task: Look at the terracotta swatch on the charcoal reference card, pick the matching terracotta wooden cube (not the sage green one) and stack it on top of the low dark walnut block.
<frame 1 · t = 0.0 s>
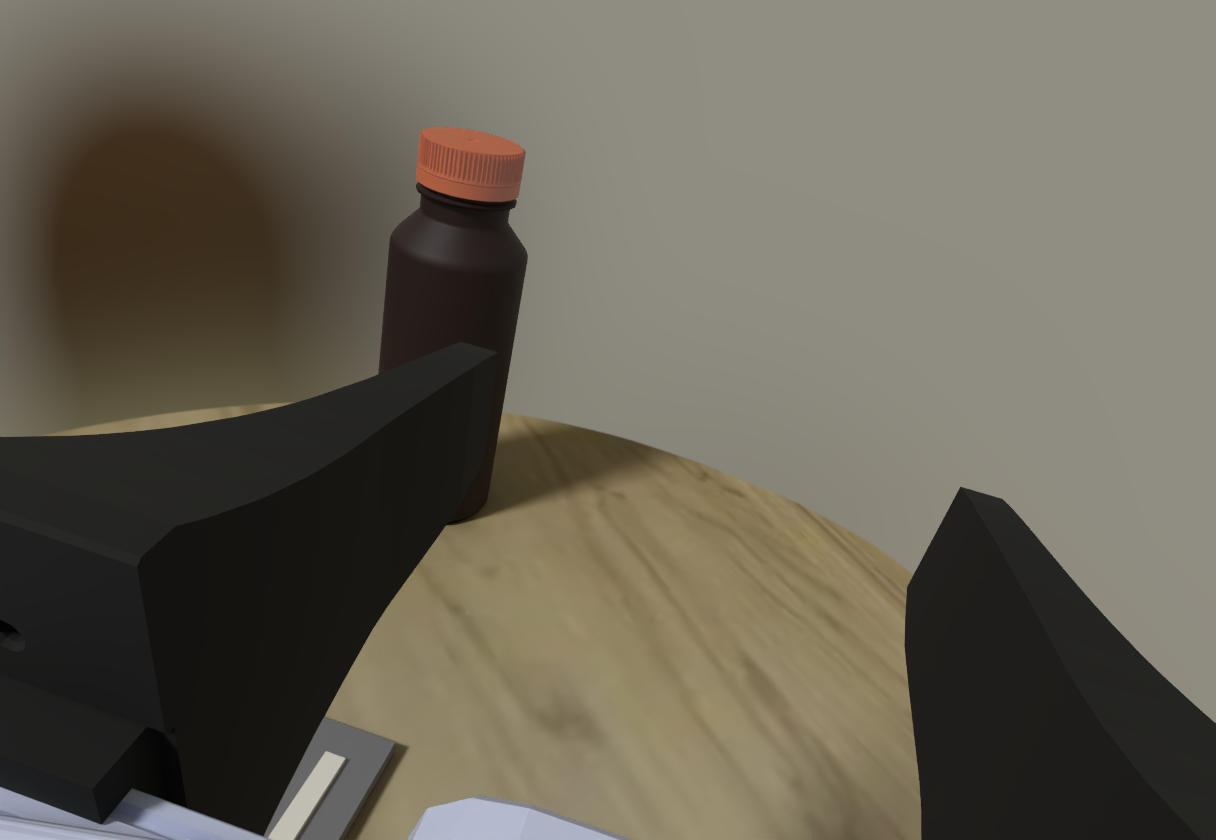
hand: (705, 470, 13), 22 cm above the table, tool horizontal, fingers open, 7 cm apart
bottle: (429, 494, 48), on the table
reference card: (213, 794, 29), on the table
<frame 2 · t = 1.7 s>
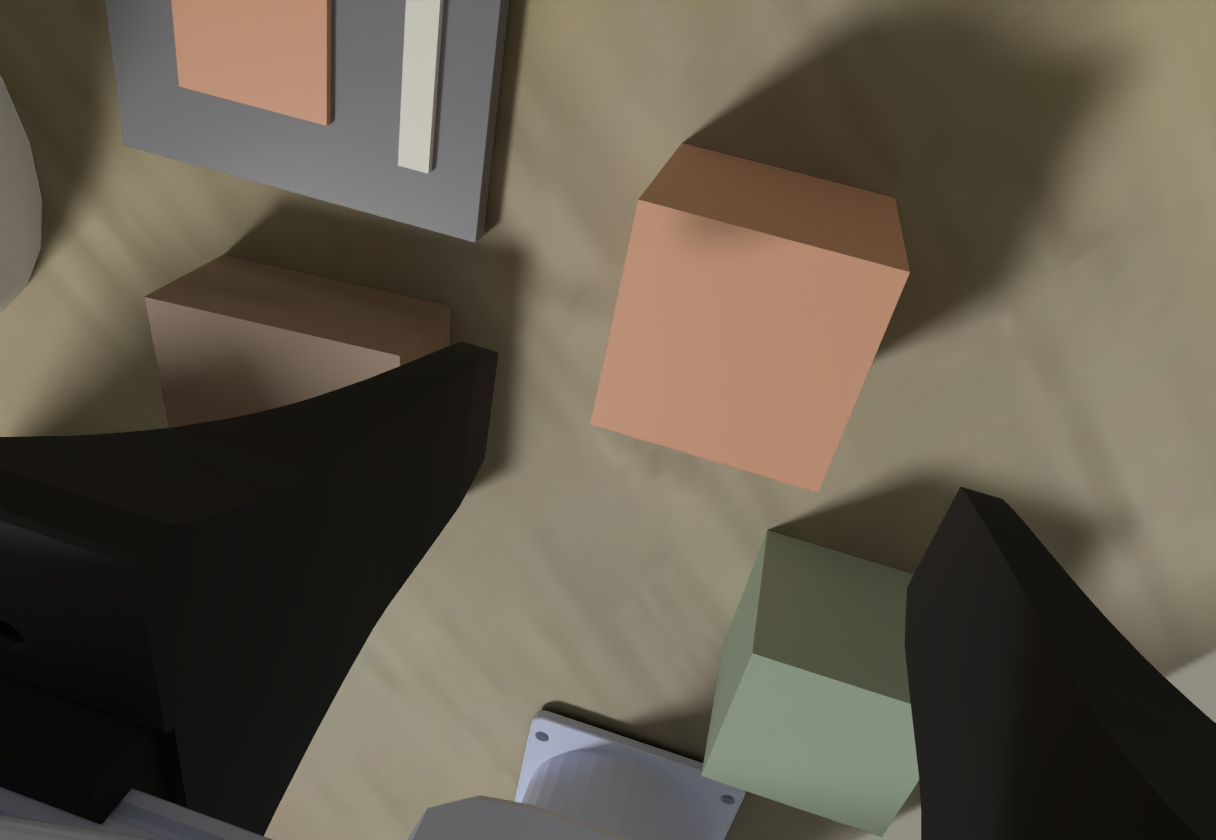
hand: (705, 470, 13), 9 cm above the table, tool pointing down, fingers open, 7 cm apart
walnut base: (345, 382, 25), on the table
sage block: (823, 614, 25), on the table
terracotta block: (756, 269, 20), on the table
reference card: (305, 24, 20), on the table
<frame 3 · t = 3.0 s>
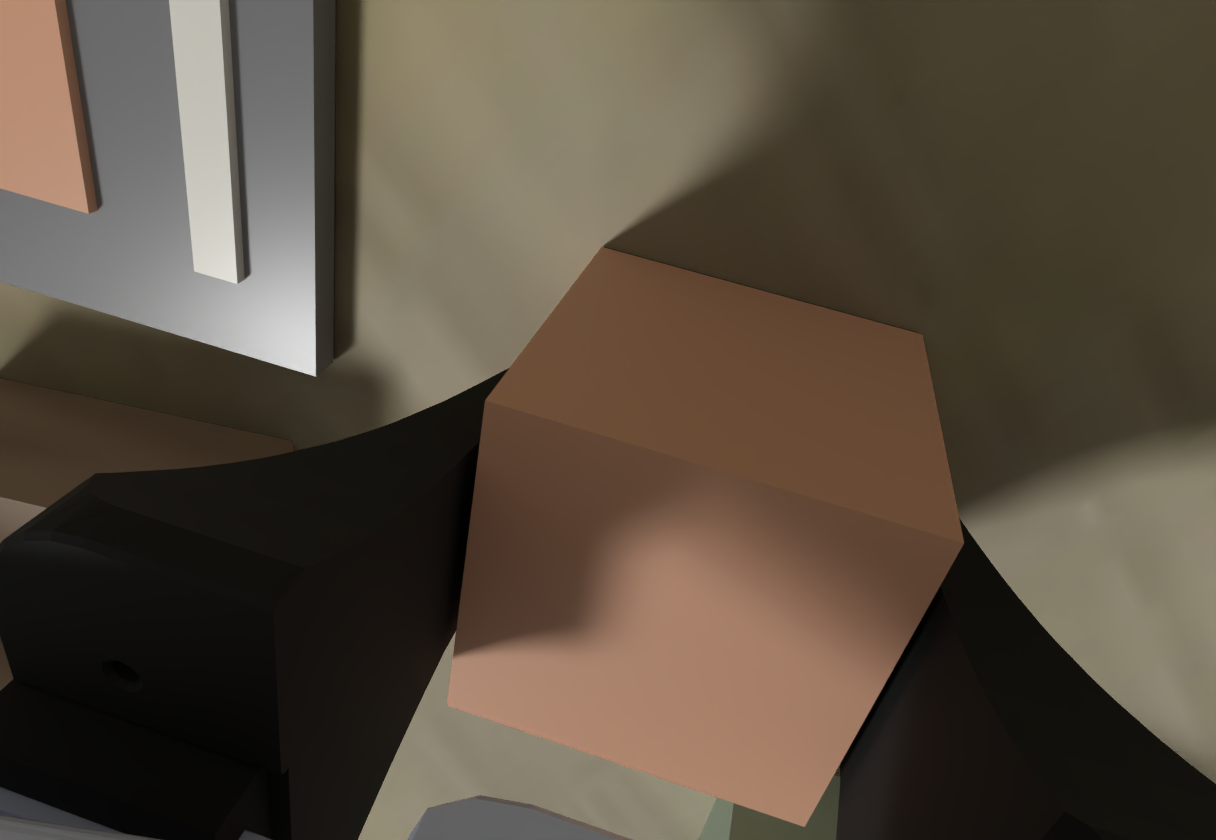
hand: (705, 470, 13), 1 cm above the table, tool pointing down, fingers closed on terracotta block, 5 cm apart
walnut base: (179, 531, 19), on the table
terracotta block: (716, 424, 14), on the table, touching gripper
reference card: (52, 66, 13), on the table
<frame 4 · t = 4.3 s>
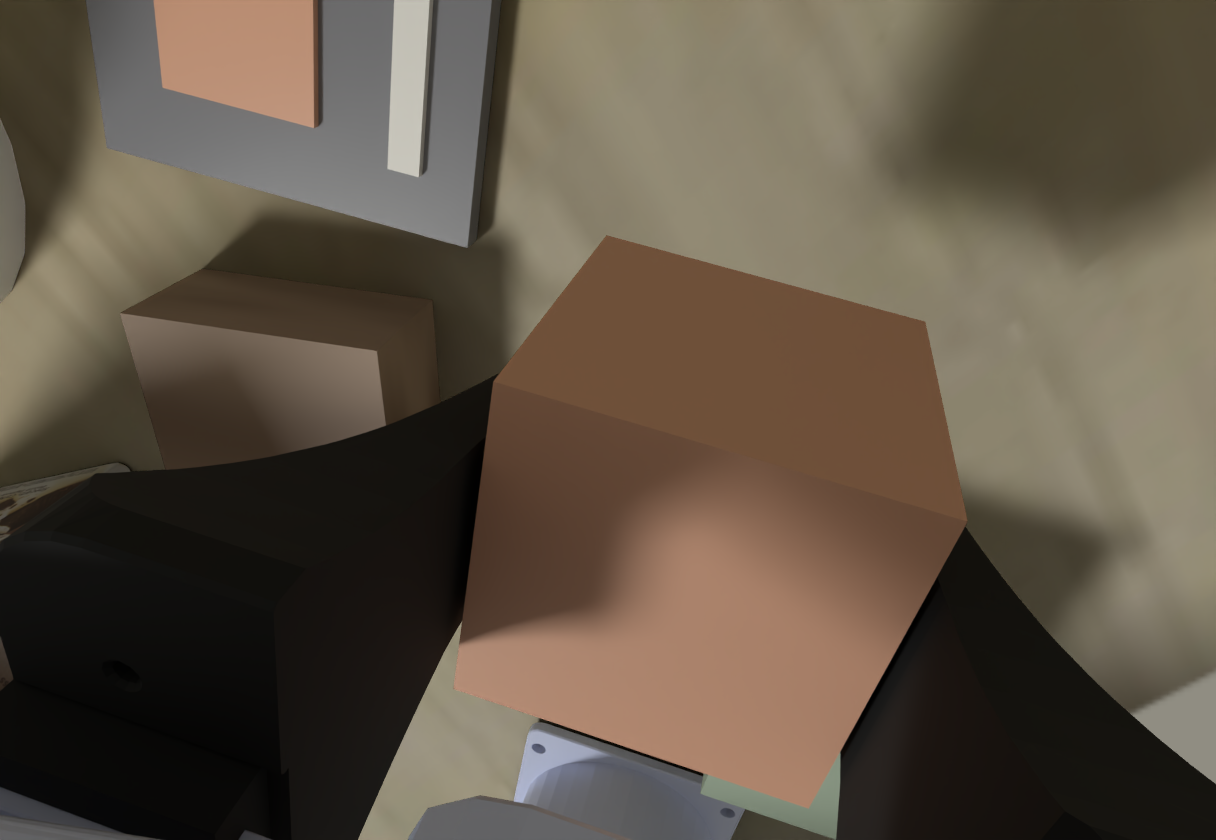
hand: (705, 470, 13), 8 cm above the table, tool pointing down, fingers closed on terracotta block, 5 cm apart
walnut base: (336, 389, 25), on the table
coffee box: (90, 540, 31), on the table
sage block: (825, 626, 25), on the table
terracotta block: (720, 413, 14), point 7 cm above the table, touching gripper
reference card: (292, 24, 19), on the table
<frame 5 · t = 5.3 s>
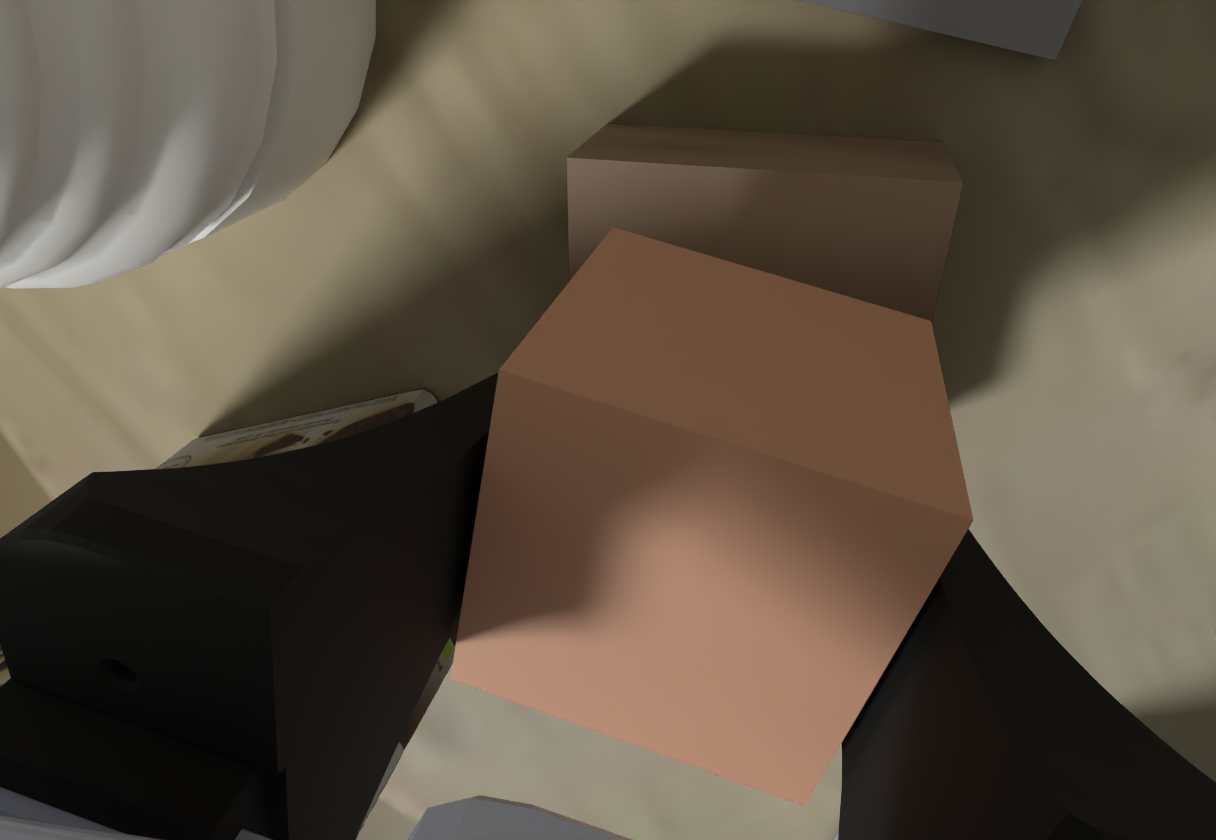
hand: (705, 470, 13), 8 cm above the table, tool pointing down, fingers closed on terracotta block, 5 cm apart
walnut base: (753, 284, 19), on the table
coffee box: (352, 492, 26), on the table
terracotta block: (722, 408, 14), point 6 cm above the table, touching gripper
when the fingers open (6 cm above the table, at t = 6.1 s): terracotta block drops 1 cm, resting on walnut base.
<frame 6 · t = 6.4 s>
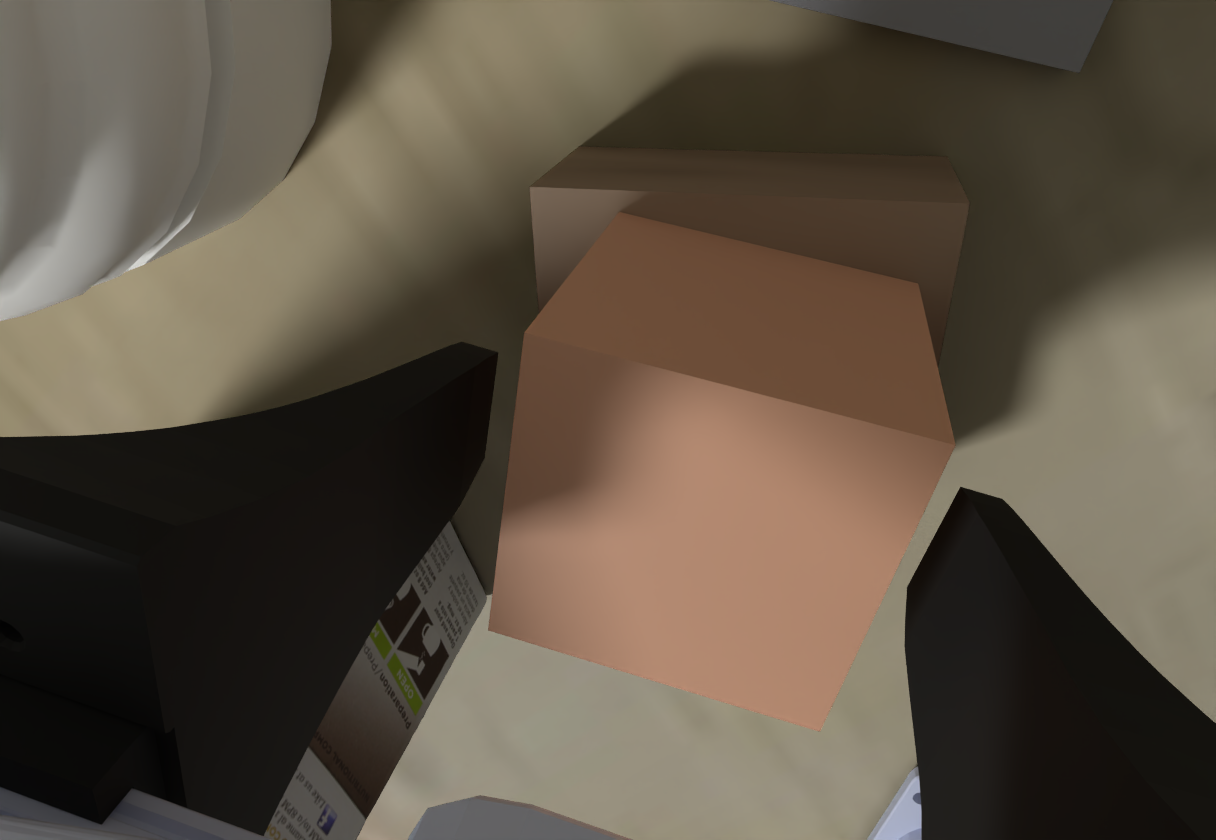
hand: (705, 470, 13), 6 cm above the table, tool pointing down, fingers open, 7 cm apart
walnut base: (745, 313, 18), on the table, touching terracotta block
coffee box: (320, 526, 24), on the table
terracotta block: (729, 377, 15), point 3 cm above the table, touching walnut base
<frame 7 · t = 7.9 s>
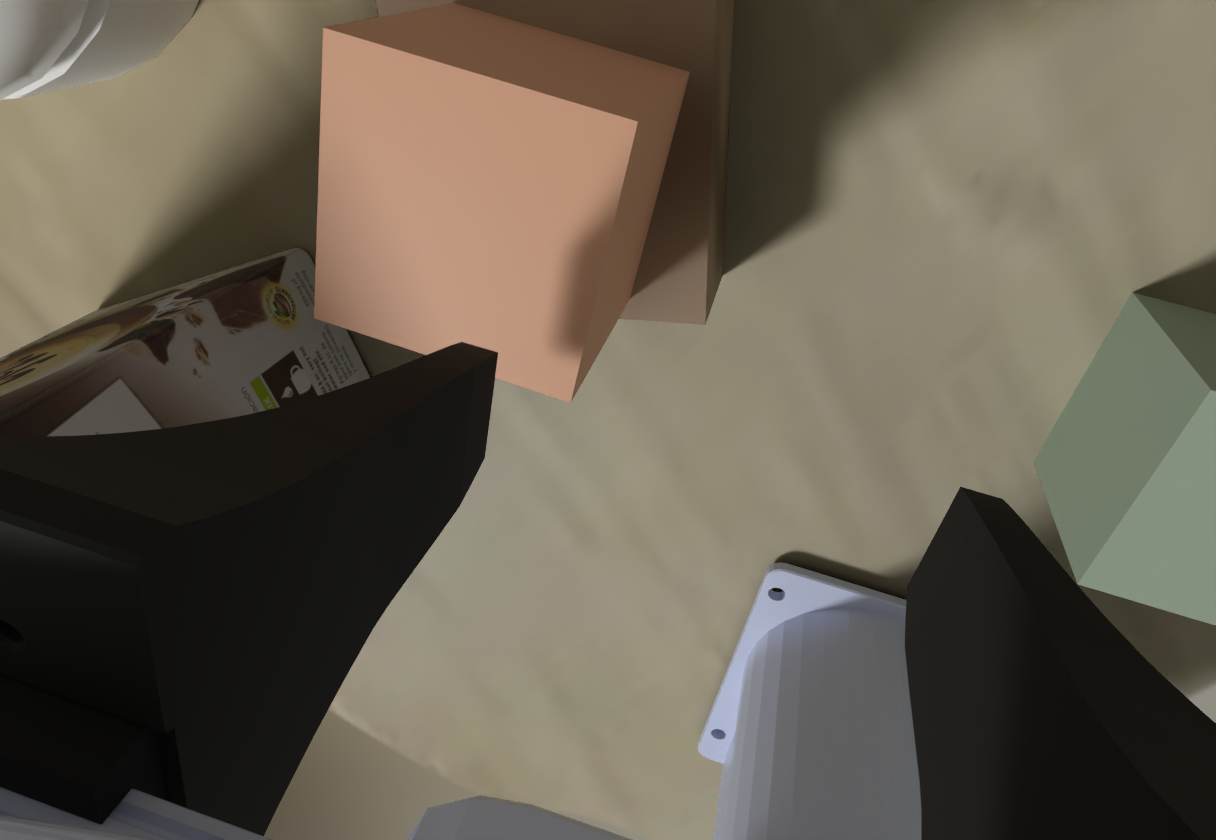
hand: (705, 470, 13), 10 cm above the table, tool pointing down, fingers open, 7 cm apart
walnut base: (590, 130, 21), on the table, touching terracotta block
coffee box: (244, 361, 27), on the table
sage block: (1180, 409, 20), on the table
terracotta block: (547, 160, 18), point 3 cm above the table, touching walnut base
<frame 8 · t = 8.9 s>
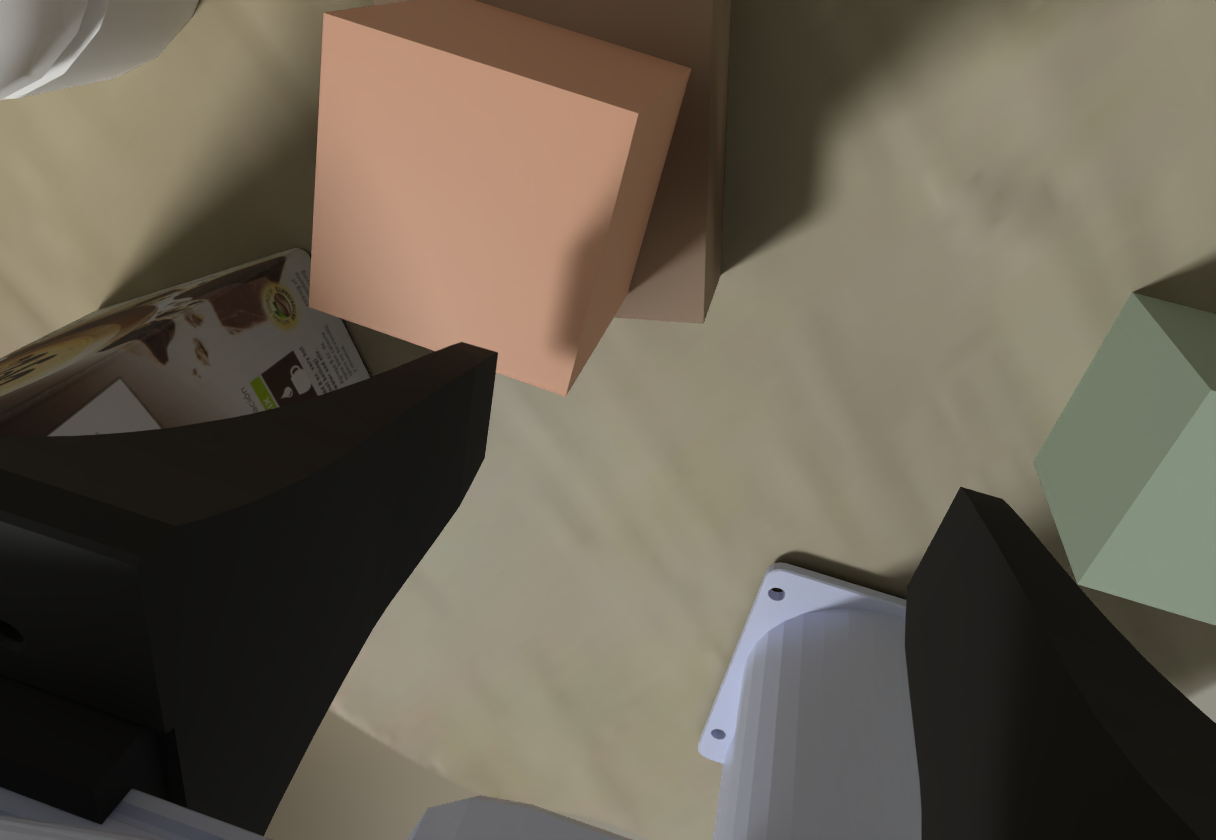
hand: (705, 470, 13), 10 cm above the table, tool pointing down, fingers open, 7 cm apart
walnut base: (588, 130, 21), on the table, touching terracotta block
coffee box: (244, 361, 27), on the table
sage block: (1180, 409, 20), on the table
terracotta block: (546, 154, 18), point 3 cm above the table, touching walnut base
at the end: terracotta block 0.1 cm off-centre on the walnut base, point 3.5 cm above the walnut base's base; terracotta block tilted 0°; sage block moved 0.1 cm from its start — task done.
